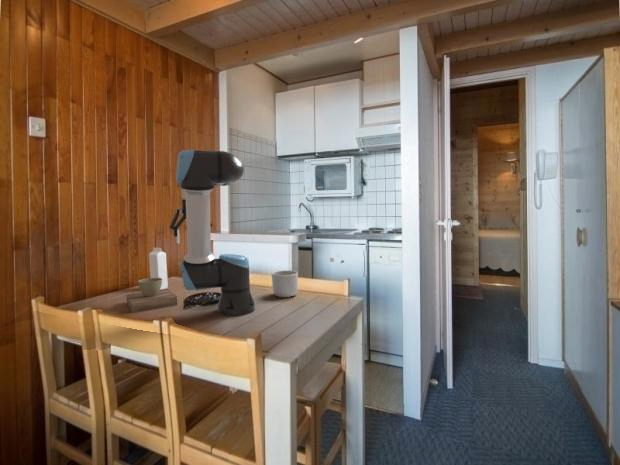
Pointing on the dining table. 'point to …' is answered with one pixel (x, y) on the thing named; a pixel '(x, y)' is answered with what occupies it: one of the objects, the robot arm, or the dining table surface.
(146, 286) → the olive green bowl
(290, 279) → the planter
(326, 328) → the dining table surface
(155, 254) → the milk
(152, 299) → the stand
